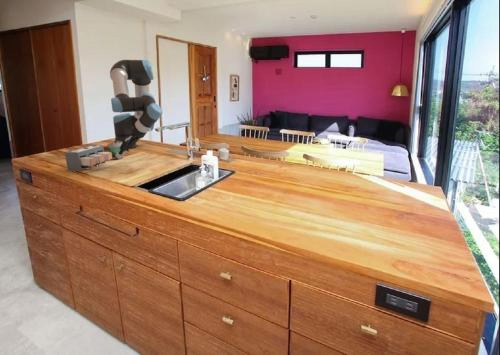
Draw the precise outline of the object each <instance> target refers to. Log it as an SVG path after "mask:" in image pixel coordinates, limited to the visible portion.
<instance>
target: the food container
mask: <svg viewBox="0 0 500 355" xmlns="http://www.w3.org/2000/svg"><path fill="white" fill-rule="evenodd" d="M121 144H122V142H121V141H116V142H115V143H114V142H112V143H107V149H108V152H111V153H112V159H110V160H109V161H118V160H122V159H123V156H122V157H121V159H118V158H117V157H116V154H117V153H118V152H119V151H120V146H121Z"/></svg>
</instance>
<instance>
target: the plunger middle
mask: <svg viewBox="0 0 500 355" xmlns="http://www.w3.org/2000/svg"><path fill="white" fill-rule="evenodd" d="M89 157H92V158H95V160H96V163H99V164H102V163H101V162H104V155H96V154H91V155H89Z"/></svg>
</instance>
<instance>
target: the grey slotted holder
mask: <svg viewBox="0 0 500 355" xmlns="http://www.w3.org/2000/svg"><path fill="white" fill-rule="evenodd" d="M98 152H105V150H104V145H97V144H95V145H94V144H93V145H86V146H81V147H79V148H75V149H71V150H68V151H64V156H65V161H66V168H67V171H69V172H80V171H81V172H83V169H82V168H90V169H91V168H92V166H85V165H81V162H80V158H81V157H89V155H91V154H96V155H98ZM100 164H106V160H104V162H101V163H96V165H93V167H98V166H100ZM97 165H98V166H97Z"/></svg>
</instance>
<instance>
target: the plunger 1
mask: <svg viewBox="0 0 500 355" xmlns="http://www.w3.org/2000/svg"><path fill="white" fill-rule="evenodd" d="M80 162H81V165H85V166H91V167H92V166H93V165H96V160H95V158H92V157H81V158H80ZM93 167H94V166H93Z"/></svg>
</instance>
